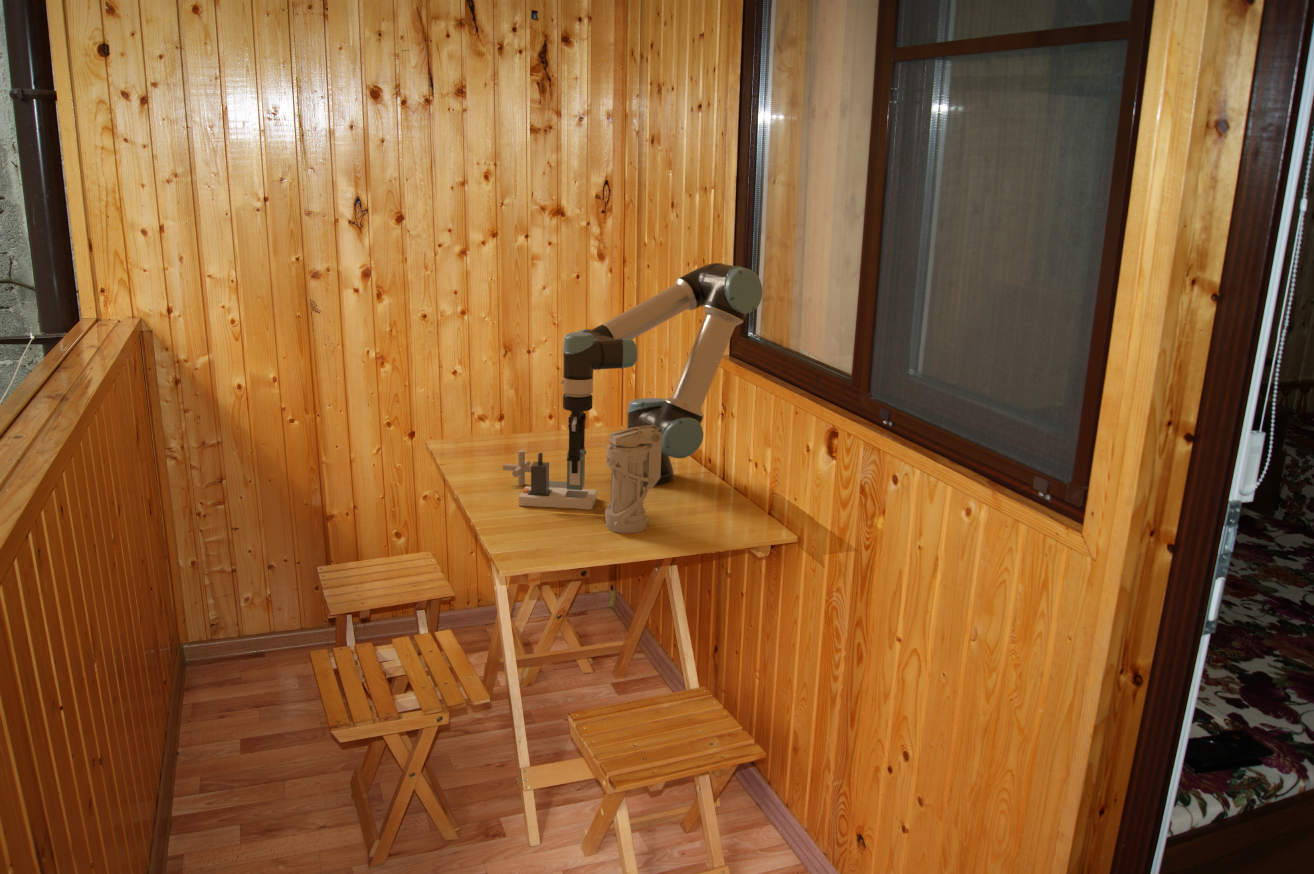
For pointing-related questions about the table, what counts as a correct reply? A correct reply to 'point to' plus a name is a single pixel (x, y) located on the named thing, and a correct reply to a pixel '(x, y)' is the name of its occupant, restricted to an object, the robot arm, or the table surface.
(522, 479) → the pipe connector
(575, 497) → the power strip
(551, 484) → the pad
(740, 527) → the table surface
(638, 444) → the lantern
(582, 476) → the plug
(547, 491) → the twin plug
